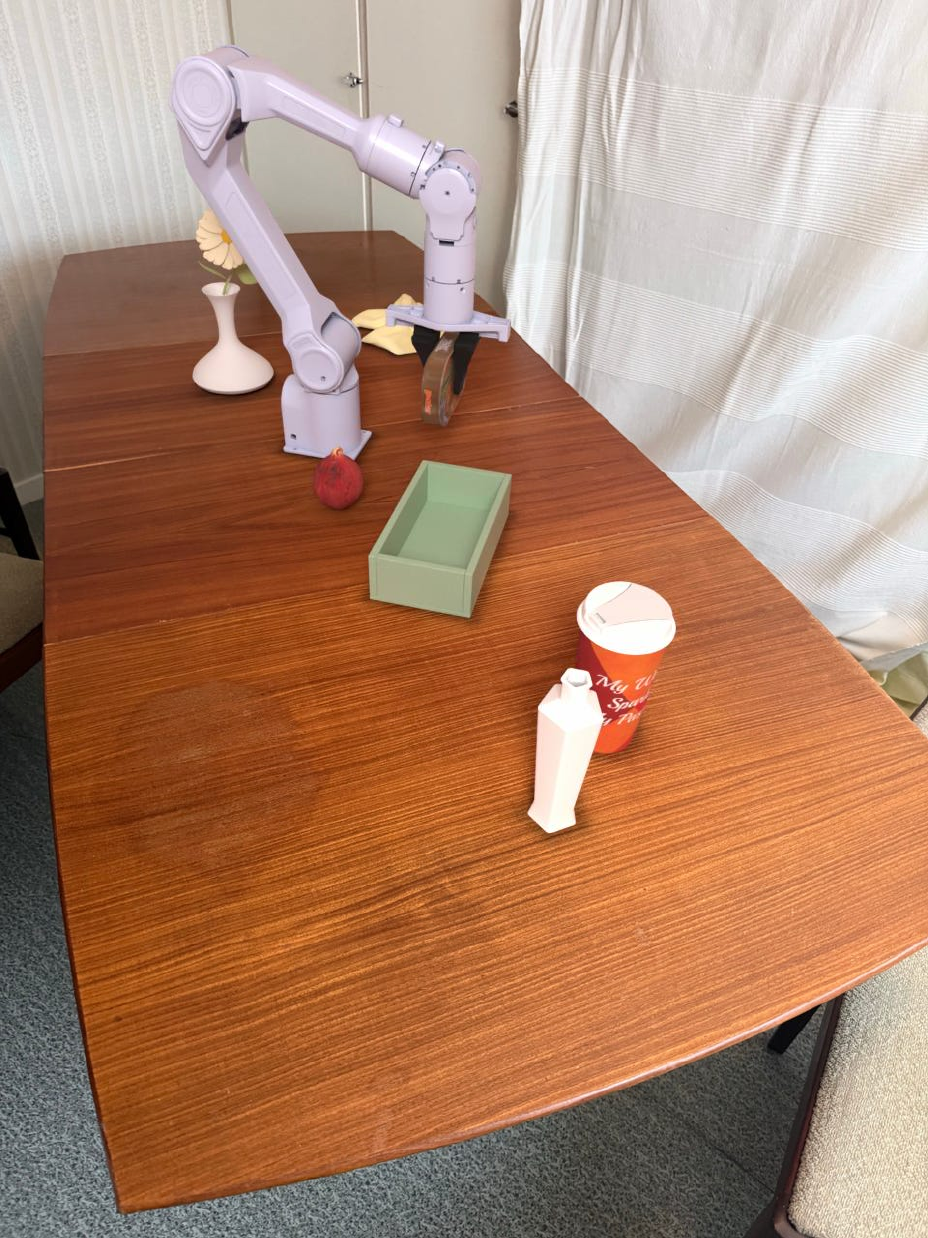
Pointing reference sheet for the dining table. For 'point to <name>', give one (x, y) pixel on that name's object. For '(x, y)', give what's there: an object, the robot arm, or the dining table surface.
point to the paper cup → (622, 654)
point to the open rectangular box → (440, 539)
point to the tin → (440, 382)
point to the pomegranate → (338, 480)
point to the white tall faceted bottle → (564, 748)
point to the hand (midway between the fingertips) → (445, 389)
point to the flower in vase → (227, 319)
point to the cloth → (387, 329)
